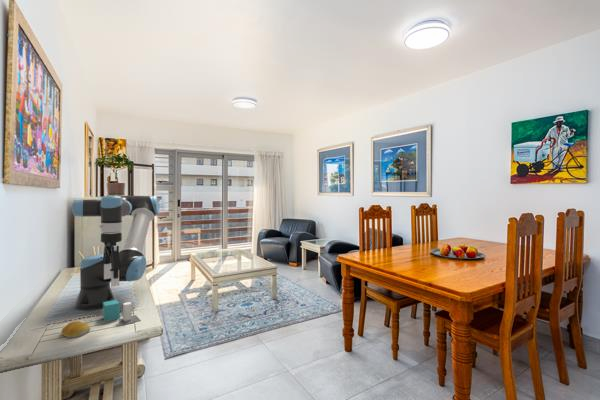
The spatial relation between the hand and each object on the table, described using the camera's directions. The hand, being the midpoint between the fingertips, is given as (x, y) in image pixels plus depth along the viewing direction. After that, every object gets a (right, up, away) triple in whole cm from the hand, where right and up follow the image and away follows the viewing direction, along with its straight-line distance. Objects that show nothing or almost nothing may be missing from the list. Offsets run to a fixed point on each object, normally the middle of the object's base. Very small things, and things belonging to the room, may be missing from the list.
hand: (111, 282), depth 127 cm
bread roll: (-5, -16, -13) cm, 21 cm away
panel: (+9, -16, -1) cm, 18 cm away
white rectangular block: (+7, -16, -1) cm, 17 cm away
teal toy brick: (0, -15, +1) cm, 16 cm away
